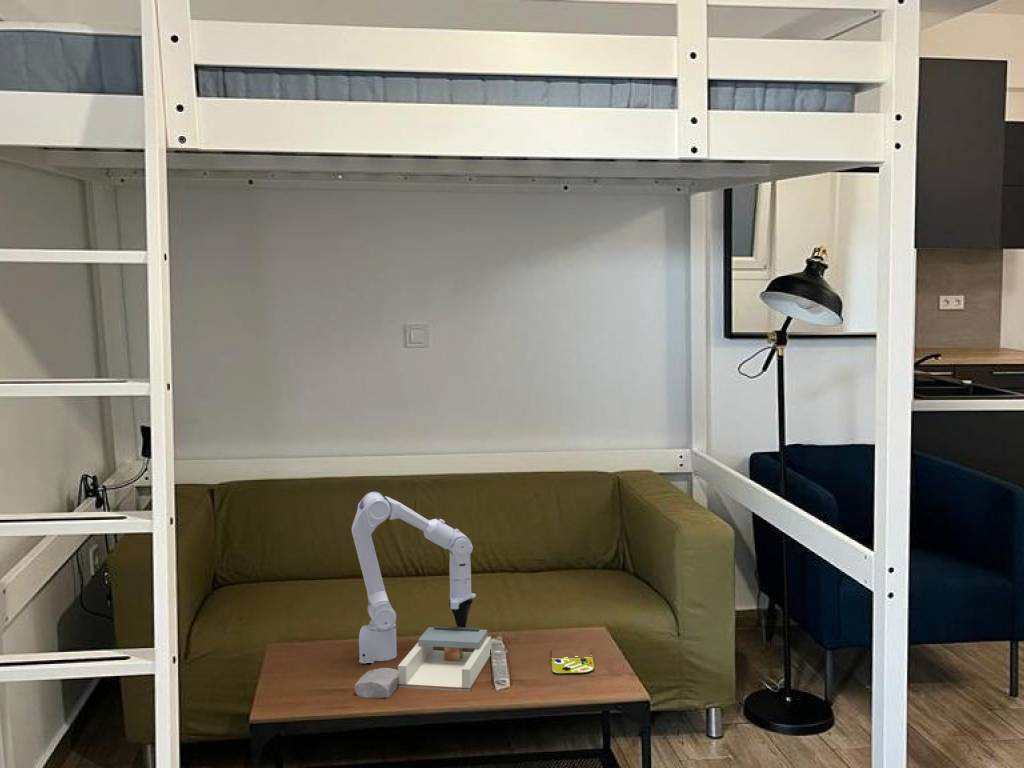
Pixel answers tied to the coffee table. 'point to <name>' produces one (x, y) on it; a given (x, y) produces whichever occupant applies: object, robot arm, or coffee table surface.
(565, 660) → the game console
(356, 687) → the stone block
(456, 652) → the block
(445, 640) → the slide cover
